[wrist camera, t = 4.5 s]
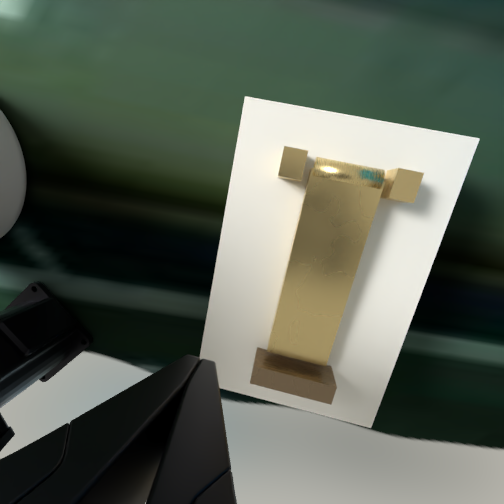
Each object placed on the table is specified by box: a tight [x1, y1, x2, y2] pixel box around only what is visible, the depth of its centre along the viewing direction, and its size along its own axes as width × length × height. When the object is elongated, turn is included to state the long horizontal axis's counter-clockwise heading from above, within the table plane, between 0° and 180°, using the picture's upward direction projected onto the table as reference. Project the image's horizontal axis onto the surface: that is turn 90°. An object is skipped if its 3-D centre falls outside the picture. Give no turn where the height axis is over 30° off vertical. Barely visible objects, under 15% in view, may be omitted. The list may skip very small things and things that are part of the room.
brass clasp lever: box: [267, 157, 385, 366], centre depth 12 cm, size 10×3×1 cm, turn 168°
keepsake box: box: [199, 96, 479, 428], centre depth 15 cm, size 15×10×7 cm
